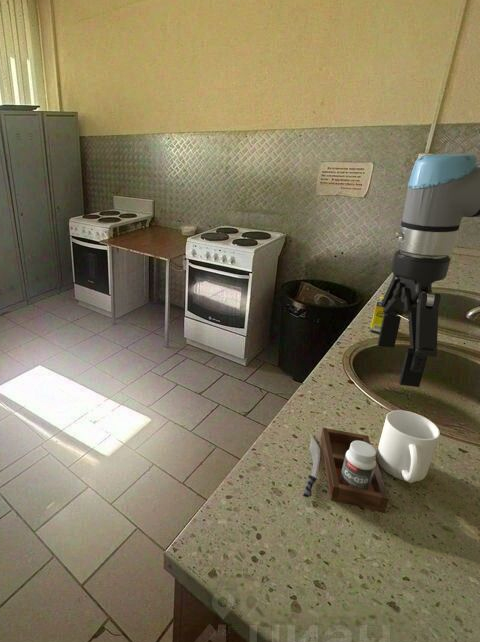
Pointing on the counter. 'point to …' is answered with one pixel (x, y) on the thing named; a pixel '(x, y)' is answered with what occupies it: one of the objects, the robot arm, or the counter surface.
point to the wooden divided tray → (334, 456)
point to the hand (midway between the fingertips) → (396, 364)
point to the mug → (407, 445)
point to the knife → (316, 458)
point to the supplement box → (378, 316)
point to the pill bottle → (358, 465)
